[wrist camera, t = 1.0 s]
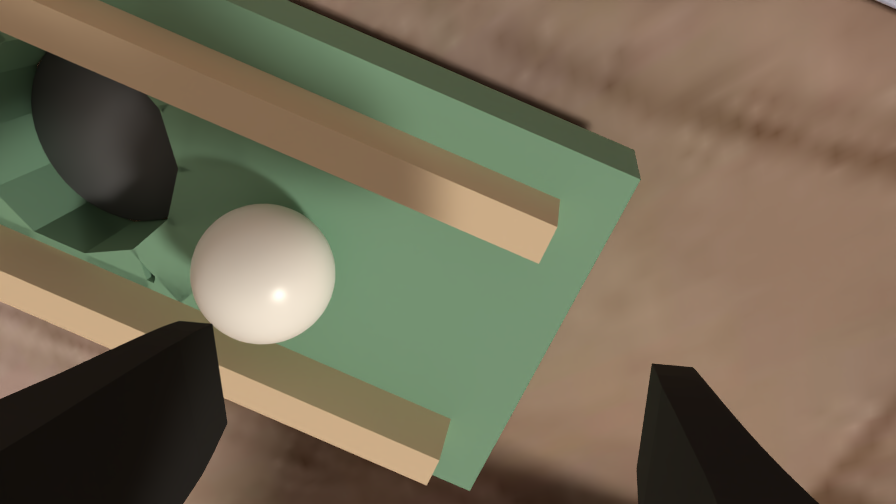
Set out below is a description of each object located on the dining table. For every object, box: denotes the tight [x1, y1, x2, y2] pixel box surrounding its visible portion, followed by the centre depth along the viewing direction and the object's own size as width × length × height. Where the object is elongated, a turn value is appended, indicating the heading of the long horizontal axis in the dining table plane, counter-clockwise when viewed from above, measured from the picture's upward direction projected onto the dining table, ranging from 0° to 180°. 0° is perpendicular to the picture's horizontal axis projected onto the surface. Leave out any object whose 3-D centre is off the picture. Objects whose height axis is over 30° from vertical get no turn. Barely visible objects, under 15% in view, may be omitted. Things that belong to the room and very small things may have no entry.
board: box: [0, 0, 641, 491], centre depth 19 cm, size 19×11×5 cm, turn 69°
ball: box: [190, 204, 335, 344], centre depth 18 cm, size 4×4×4 cm
